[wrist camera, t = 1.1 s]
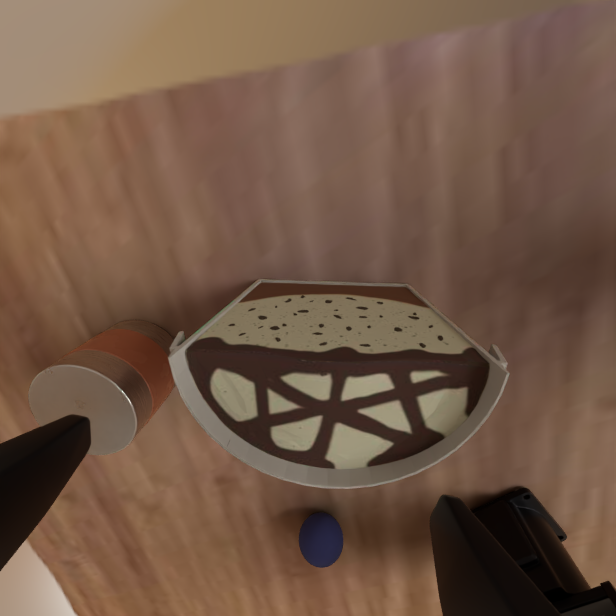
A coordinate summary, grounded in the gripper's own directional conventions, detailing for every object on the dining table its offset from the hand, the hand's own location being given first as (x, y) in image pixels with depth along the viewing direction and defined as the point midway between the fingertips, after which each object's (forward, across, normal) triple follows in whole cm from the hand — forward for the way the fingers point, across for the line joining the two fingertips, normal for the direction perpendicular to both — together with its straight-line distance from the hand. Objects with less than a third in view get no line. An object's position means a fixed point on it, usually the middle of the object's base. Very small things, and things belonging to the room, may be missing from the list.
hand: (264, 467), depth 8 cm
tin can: (+13, +10, +7) cm, 18 cm away
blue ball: (+13, -5, +19) cm, 24 cm away
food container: (+13, -2, +2) cm, 14 cm away
